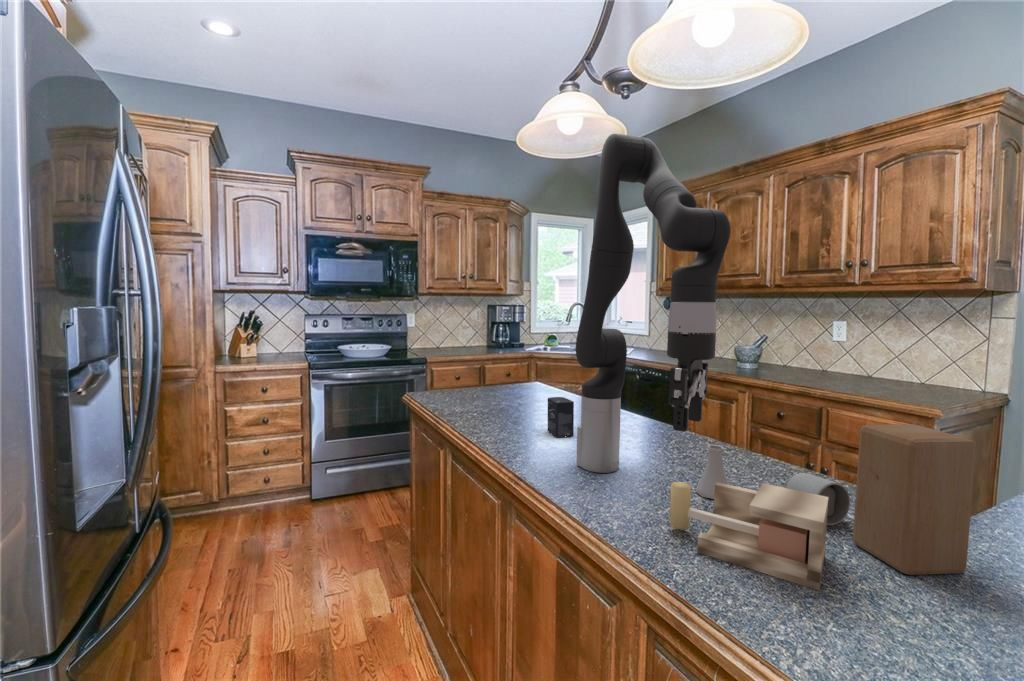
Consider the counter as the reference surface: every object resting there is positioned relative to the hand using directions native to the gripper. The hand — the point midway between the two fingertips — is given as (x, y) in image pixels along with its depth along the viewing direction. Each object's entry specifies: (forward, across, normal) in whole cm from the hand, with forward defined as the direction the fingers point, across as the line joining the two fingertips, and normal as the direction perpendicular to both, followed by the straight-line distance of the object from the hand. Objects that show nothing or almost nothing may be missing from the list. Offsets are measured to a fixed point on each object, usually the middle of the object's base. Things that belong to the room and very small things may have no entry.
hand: (687, 425), depth 79 cm
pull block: (+17, +1, +8) cm, 19 cm away
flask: (+19, -20, 0) cm, 28 cm away
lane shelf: (+18, +1, +12) cm, 22 cm away
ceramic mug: (+19, -20, +17) cm, 32 cm away
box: (+18, -41, -48) cm, 66 cm away
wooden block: (+19, -12, +30) cm, 37 cm away
